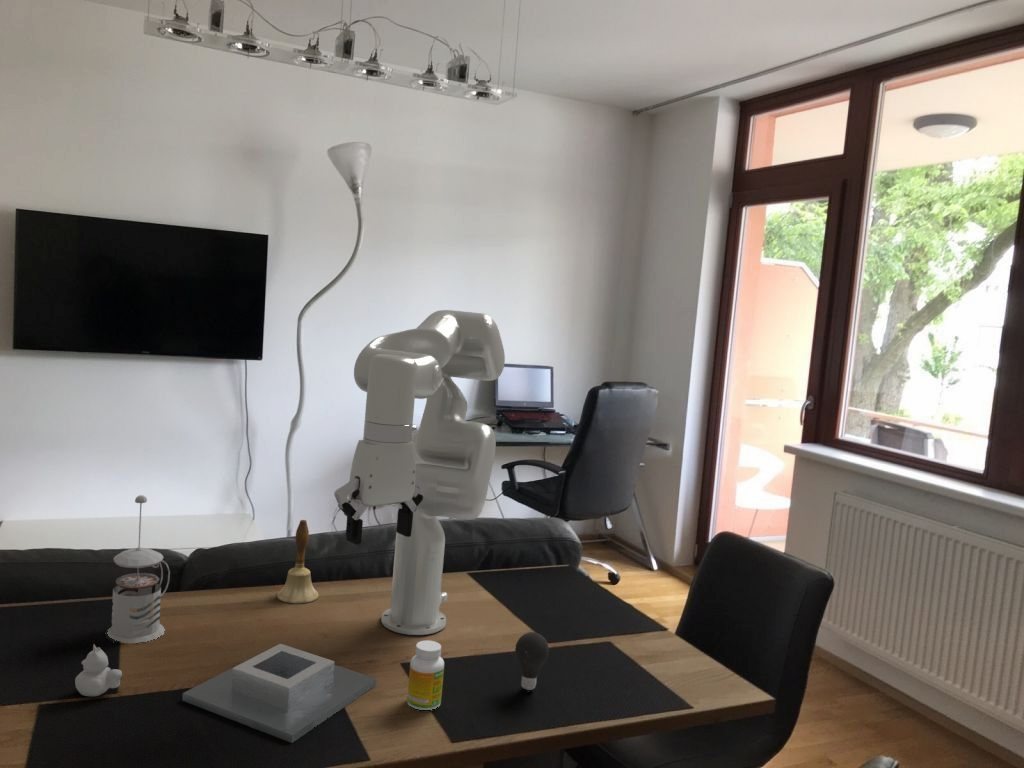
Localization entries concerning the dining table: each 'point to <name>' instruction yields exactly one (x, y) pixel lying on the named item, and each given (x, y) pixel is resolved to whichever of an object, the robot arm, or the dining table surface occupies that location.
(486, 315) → the robot arm
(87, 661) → the rubber duck
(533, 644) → the light bulb
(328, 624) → the dining table surface
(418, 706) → the supplement bottle
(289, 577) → the hand bell
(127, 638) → the french press
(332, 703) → the collar plate
